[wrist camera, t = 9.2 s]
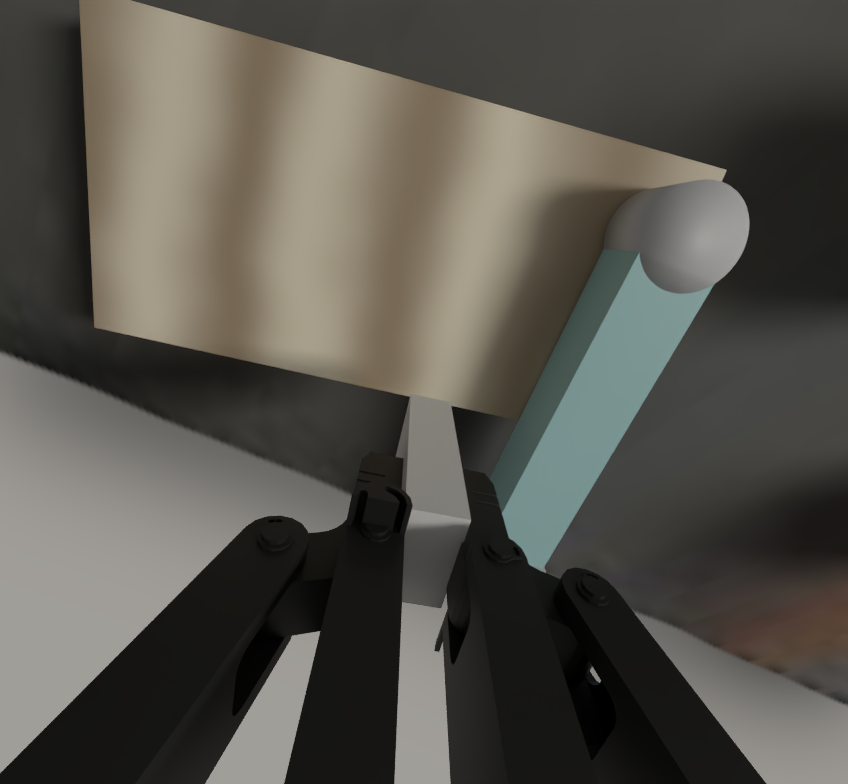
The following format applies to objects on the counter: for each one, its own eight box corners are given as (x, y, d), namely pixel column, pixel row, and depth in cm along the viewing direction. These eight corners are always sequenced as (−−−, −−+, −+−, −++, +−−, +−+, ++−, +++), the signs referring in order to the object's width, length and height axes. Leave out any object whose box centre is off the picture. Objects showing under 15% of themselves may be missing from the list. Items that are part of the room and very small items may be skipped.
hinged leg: (632, 173, 16) (680, 160, 13) (712, 209, 16) (777, 204, 13) (457, 531, 22) (463, 578, 19) (520, 550, 22) (535, 598, 19)
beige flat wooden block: (138, 314, 21) (94, 327, 18) (135, 26, 17) (78, -15, 14) (585, 414, 23) (607, 439, 20) (681, 179, 19) (726, 169, 16)
